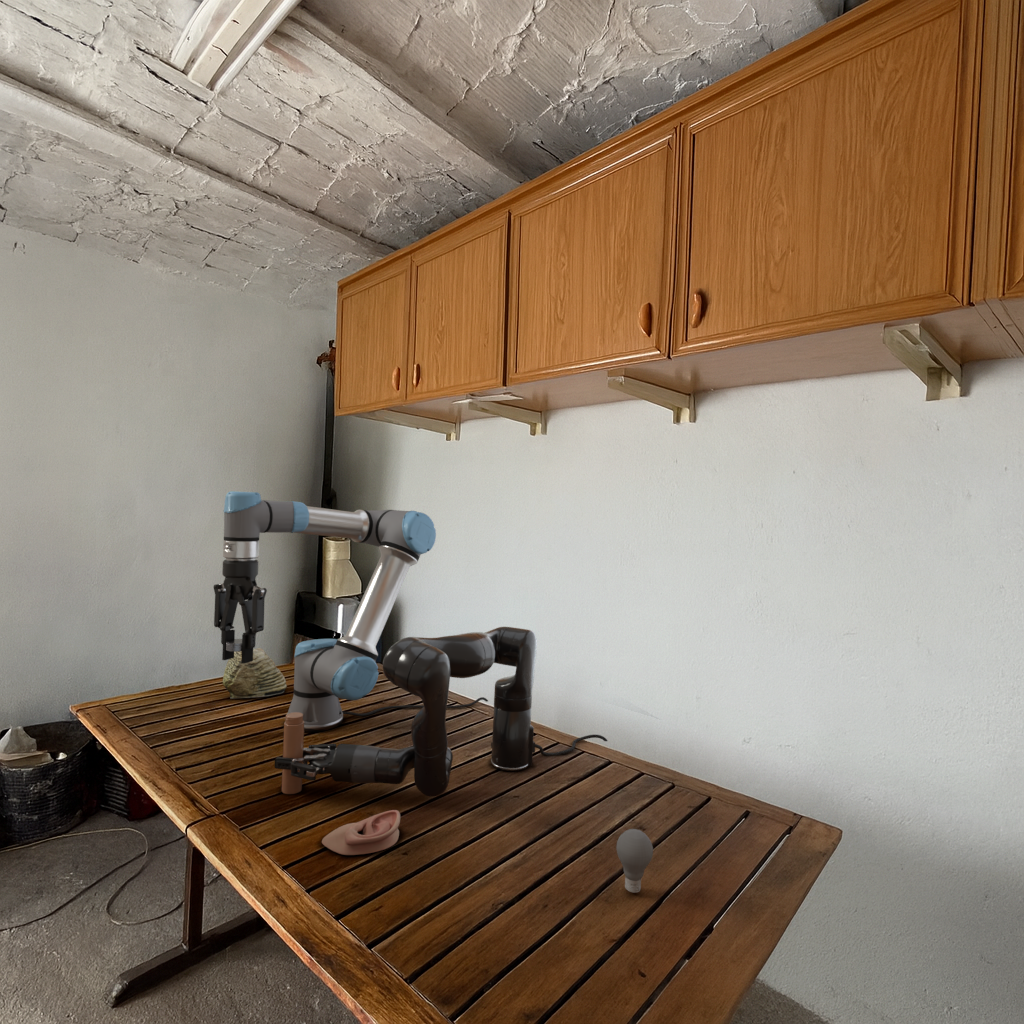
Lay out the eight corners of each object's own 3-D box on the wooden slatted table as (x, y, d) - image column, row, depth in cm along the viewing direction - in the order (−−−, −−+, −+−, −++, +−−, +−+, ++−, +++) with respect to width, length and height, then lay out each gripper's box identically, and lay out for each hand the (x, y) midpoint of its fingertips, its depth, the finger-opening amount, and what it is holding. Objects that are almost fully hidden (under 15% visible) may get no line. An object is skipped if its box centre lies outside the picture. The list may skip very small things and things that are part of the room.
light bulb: (610, 879, 108) (613, 822, 108) (644, 879, 109) (647, 822, 109) (619, 902, 102) (622, 840, 102) (655, 901, 103) (658, 840, 103)
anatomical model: (313, 828, 113) (343, 799, 125) (313, 850, 113) (342, 819, 125) (383, 839, 111) (407, 808, 122) (382, 862, 111) (406, 829, 122)
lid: (253, 649, 145) (253, 641, 145) (232, 652, 141) (232, 644, 141) (242, 645, 148) (242, 637, 148) (221, 648, 144) (222, 640, 144)
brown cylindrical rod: (277, 792, 135) (280, 716, 135) (289, 784, 139) (291, 710, 139) (294, 795, 134) (297, 719, 133) (305, 787, 138) (308, 713, 137)
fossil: (218, 695, 195) (220, 647, 195) (278, 685, 208) (279, 640, 207) (228, 703, 189) (230, 653, 188) (289, 692, 201) (290, 645, 201)
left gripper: (197, 557, 144) (194, 658, 145) (259, 563, 138) (256, 669, 138) (223, 555, 151) (220, 652, 152) (283, 560, 145) (280, 661, 145)
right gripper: (368, 734, 142) (294, 729, 143) (348, 759, 128) (265, 754, 129) (367, 767, 142) (292, 761, 144) (346, 796, 128) (264, 790, 129)
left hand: (237, 660), depth 145 cm, fingers closed on lid, 5 cm apart
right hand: (280, 758), depth 136 cm, fingers closed on brown cylindrical rod, 4 cm apart
